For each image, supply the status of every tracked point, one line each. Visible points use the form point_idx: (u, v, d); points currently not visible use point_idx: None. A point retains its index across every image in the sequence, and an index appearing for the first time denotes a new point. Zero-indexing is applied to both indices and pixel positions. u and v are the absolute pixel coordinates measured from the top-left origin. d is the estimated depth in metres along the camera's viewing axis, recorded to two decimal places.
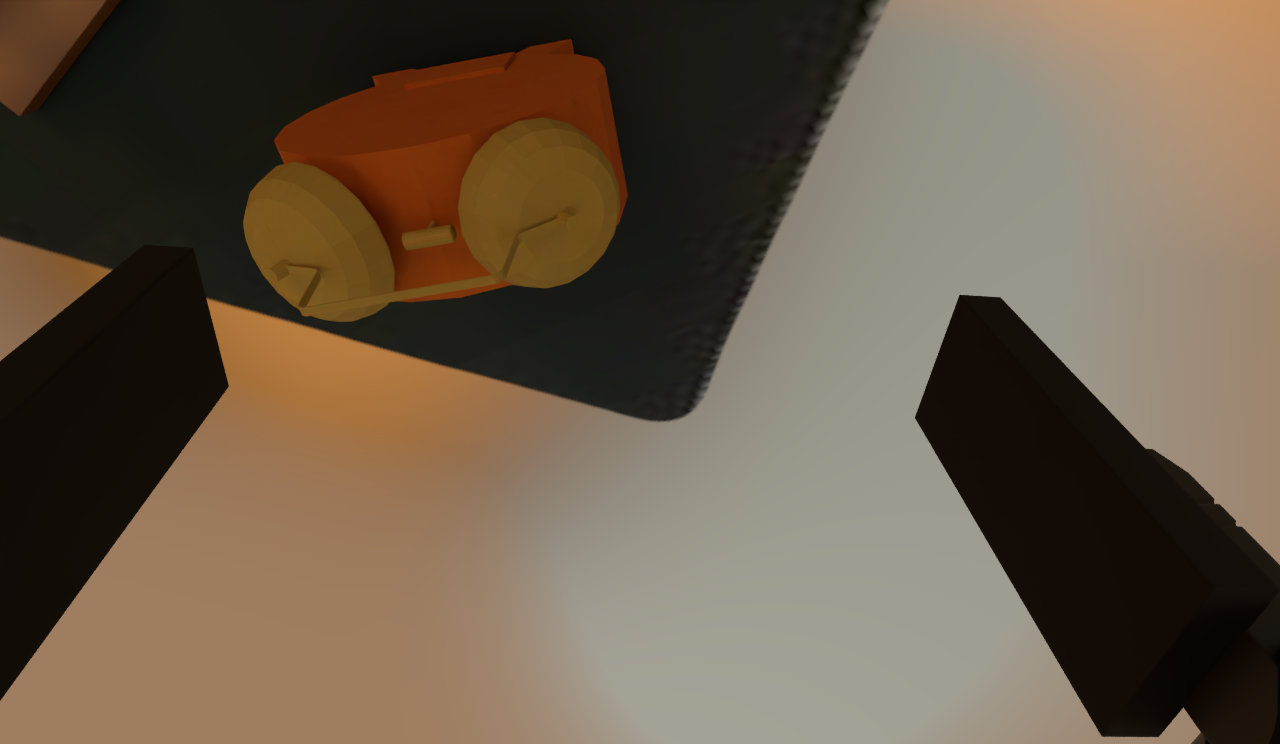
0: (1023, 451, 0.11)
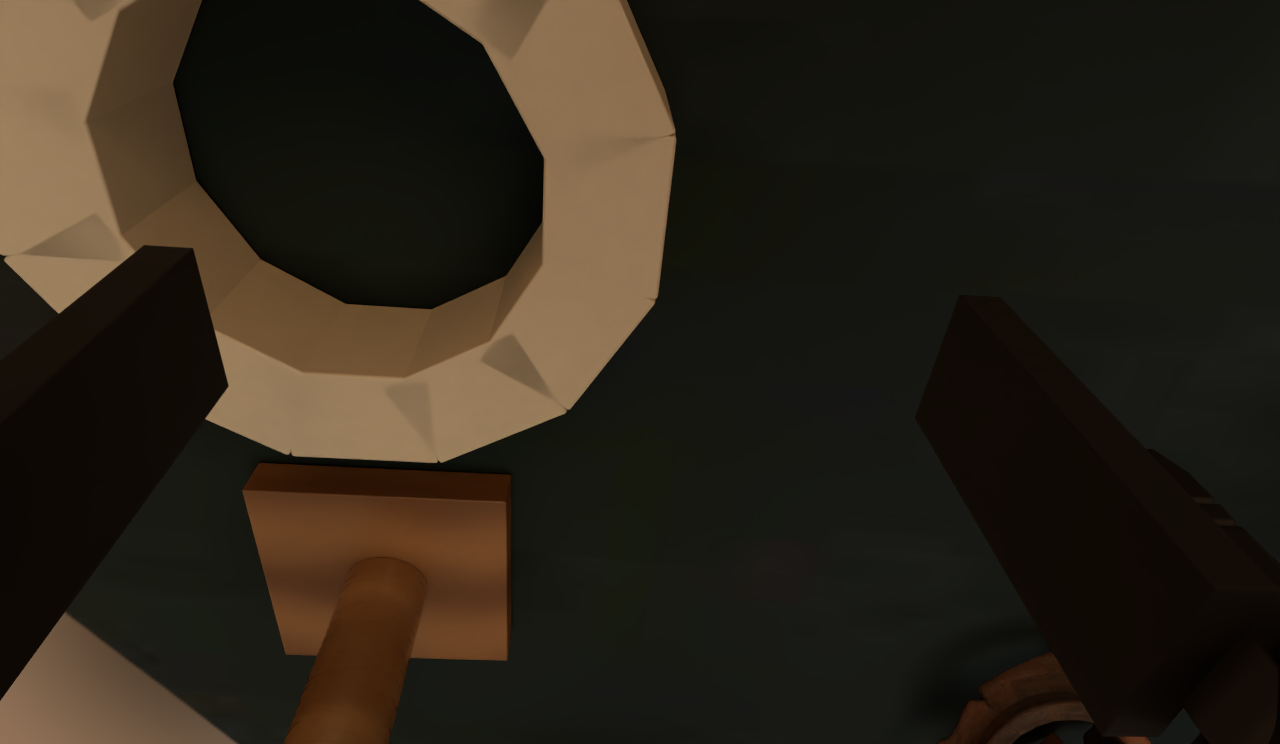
0: (1023, 451, 0.11)
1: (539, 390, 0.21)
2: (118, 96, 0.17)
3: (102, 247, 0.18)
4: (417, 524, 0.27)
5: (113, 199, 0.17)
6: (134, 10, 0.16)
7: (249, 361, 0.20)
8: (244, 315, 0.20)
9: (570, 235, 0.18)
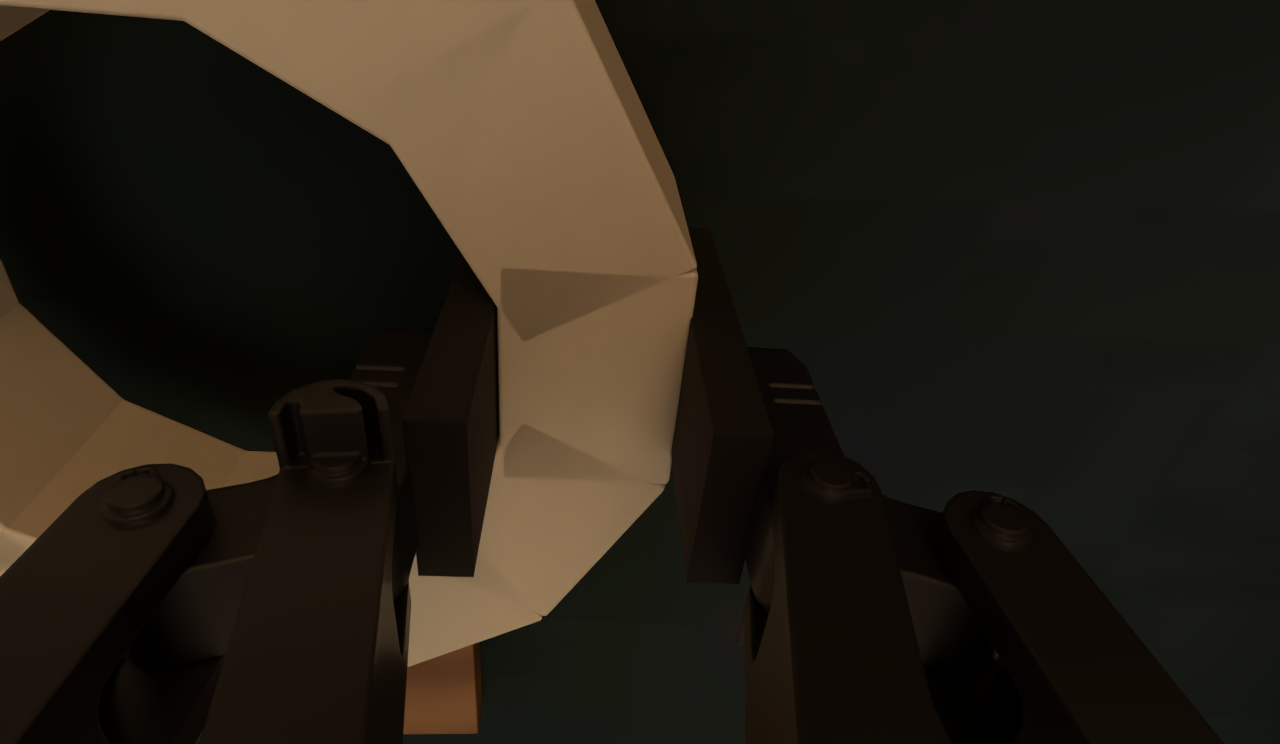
0: None
1: (503, 596, 0.15)
2: None
3: None
4: None
5: None
6: None
7: None
8: None
9: (540, 407, 0.12)
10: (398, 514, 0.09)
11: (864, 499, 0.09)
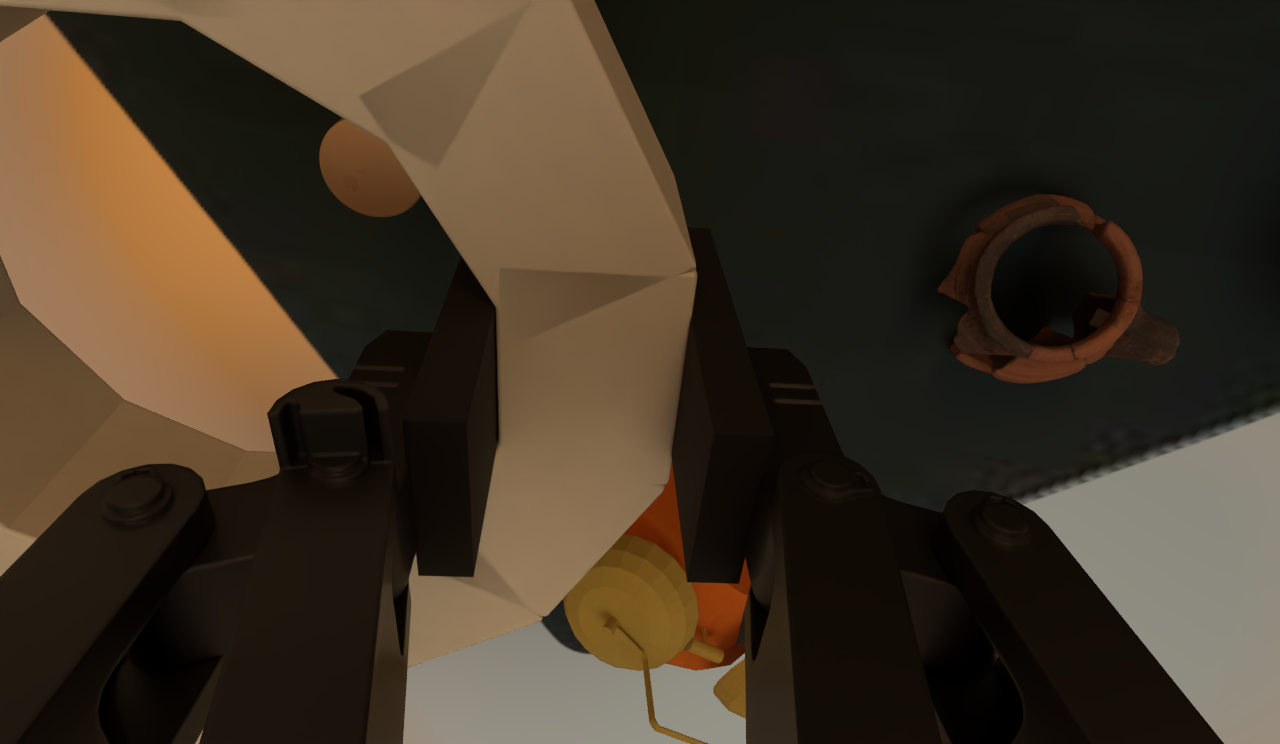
0: None
1: (502, 596, 0.15)
2: None
3: None
4: None
5: None
6: None
7: None
8: None
9: (539, 408, 0.12)
10: (398, 514, 0.09)
11: (864, 499, 0.09)
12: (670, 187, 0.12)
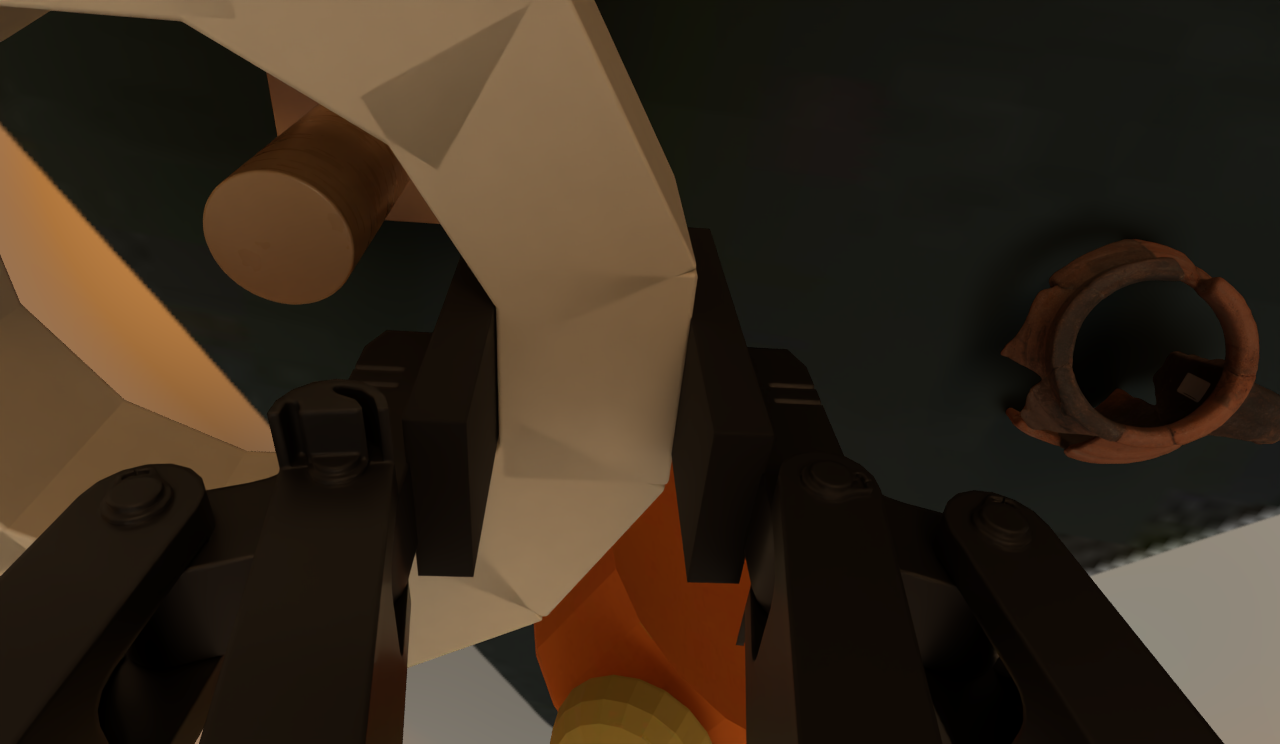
0: None
1: (503, 595, 0.15)
2: None
3: None
4: None
5: None
6: None
7: None
8: None
9: (539, 408, 0.12)
10: (398, 514, 0.09)
11: (864, 499, 0.09)
12: (670, 187, 0.12)
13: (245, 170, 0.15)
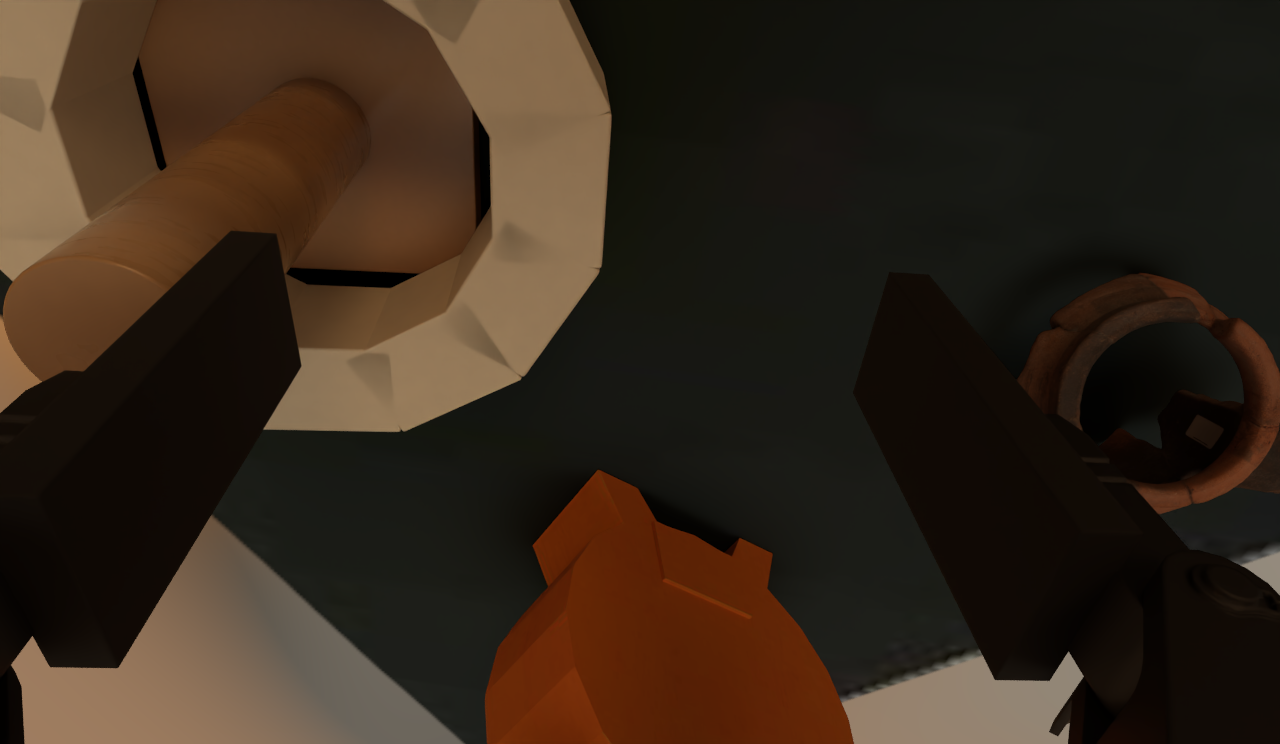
0: (937, 417, 0.12)
1: (494, 358, 0.22)
2: (81, 84, 0.18)
3: (69, 230, 0.19)
4: (351, 14, 0.20)
5: (79, 183, 0.18)
6: (95, 1, 0.17)
7: None
8: None
9: (517, 209, 0.20)
10: None
11: (1272, 622, 0.08)
12: (597, 70, 0.20)
13: (53, 256, 0.11)
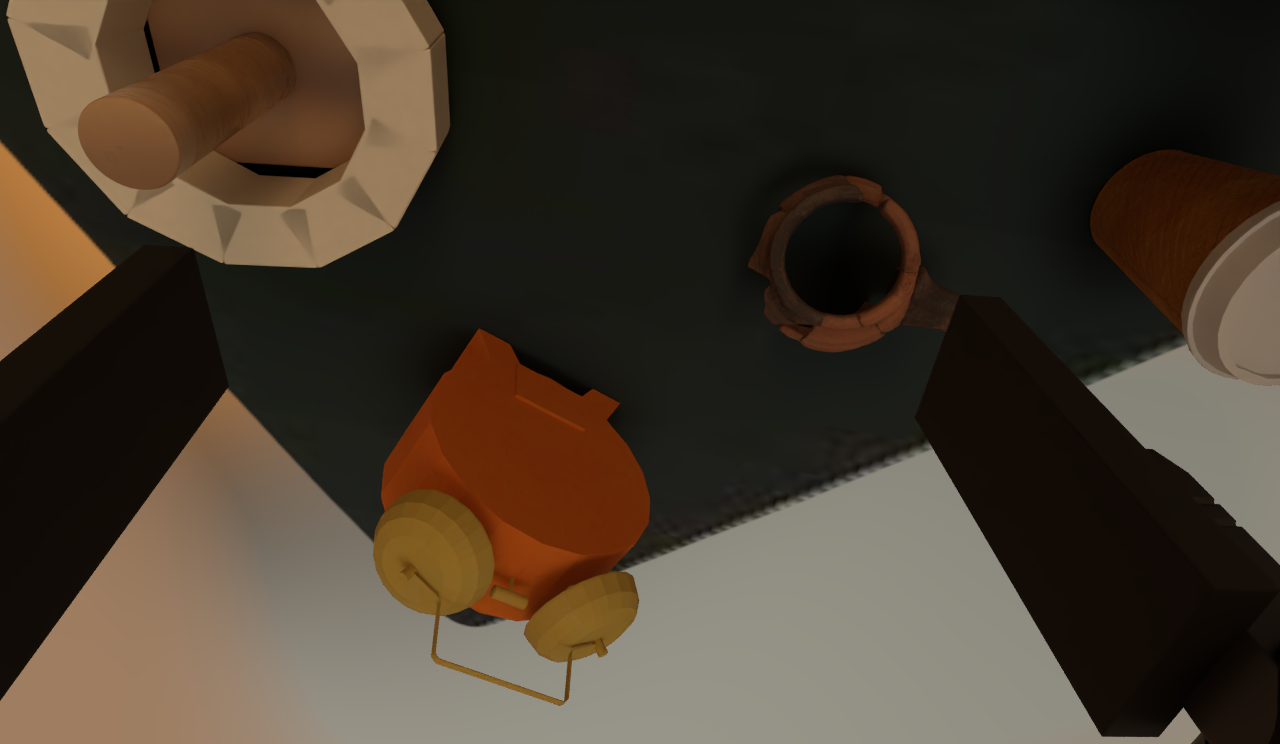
0: (1023, 451, 0.11)
1: (374, 214, 0.34)
2: (112, 32, 0.30)
3: None
4: None
5: (110, 91, 0.31)
6: None
7: (194, 196, 0.33)
8: (191, 171, 0.33)
9: (378, 110, 0.32)
10: None
11: None
12: (428, 24, 0.32)
13: (102, 97, 0.23)
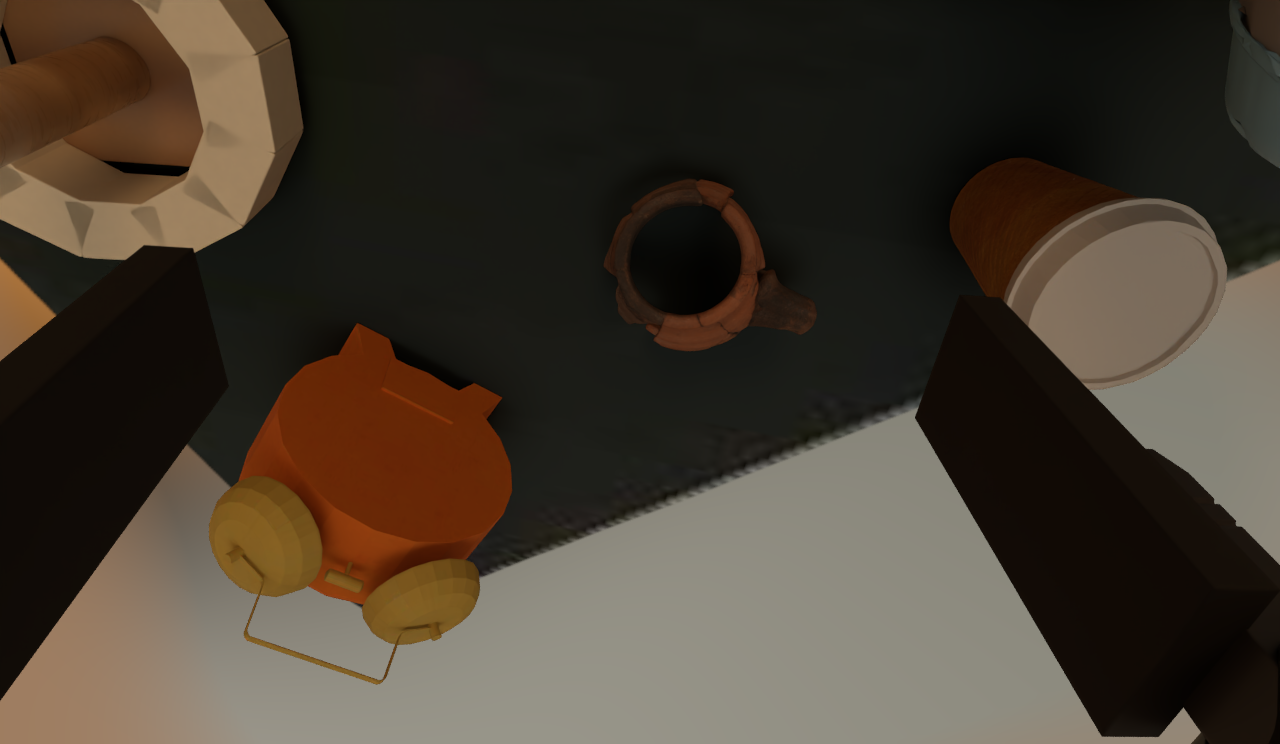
0: (1023, 451, 0.11)
1: (222, 212, 0.35)
2: None
3: None
4: None
5: None
6: None
7: (47, 193, 0.35)
8: (46, 168, 0.35)
9: (214, 113, 0.33)
10: None
11: None
12: (262, 31, 0.33)
13: None
